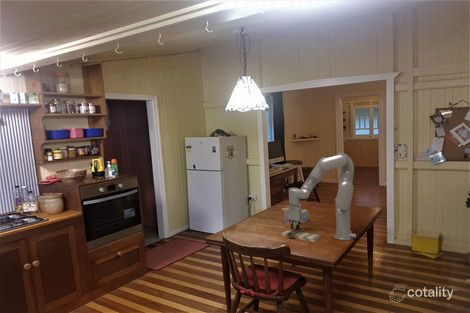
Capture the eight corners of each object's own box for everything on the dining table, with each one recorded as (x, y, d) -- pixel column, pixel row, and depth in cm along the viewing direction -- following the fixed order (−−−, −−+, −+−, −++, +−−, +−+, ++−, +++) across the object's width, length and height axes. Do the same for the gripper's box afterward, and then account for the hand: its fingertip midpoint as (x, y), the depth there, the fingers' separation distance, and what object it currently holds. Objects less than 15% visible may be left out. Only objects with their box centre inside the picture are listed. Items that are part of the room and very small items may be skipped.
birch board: (320, 237, 235) (320, 235, 235) (314, 242, 228) (314, 239, 227) (288, 232, 252) (288, 229, 252) (281, 235, 244) (281, 232, 244)
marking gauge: (303, 232, 246) (302, 219, 245) (293, 238, 236) (293, 224, 235) (297, 231, 249) (296, 218, 249) (287, 237, 239) (287, 223, 238)
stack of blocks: (305, 219, 282) (305, 205, 280) (308, 221, 275) (308, 207, 274) (281, 222, 278) (281, 208, 276) (284, 224, 271) (283, 210, 270)
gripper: (307, 204, 238) (307, 229, 240) (287, 202, 249) (288, 226, 250) (302, 207, 232) (303, 232, 234) (281, 204, 243) (282, 229, 244)
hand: (295, 229), depth 242 cm, fingers closed on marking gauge, 3 cm apart
